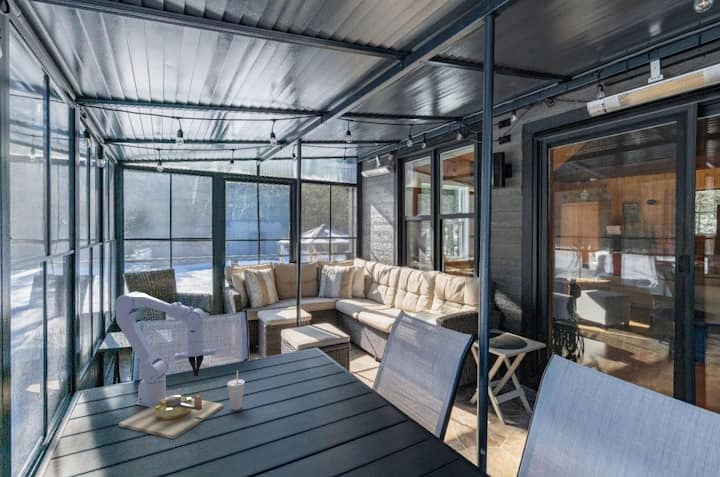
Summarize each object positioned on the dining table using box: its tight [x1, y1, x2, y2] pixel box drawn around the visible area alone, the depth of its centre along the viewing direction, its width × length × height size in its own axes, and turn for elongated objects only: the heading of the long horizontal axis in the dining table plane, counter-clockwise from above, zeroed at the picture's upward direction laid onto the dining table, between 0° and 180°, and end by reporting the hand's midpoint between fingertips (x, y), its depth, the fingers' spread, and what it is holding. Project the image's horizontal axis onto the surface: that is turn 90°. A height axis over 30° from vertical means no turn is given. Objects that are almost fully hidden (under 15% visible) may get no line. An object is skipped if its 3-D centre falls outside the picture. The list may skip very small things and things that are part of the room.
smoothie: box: [226, 370, 246, 411], centre depth 146 cm, size 6×6×14 cm
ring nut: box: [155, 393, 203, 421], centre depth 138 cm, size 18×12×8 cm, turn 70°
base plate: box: [118, 394, 224, 440], centre depth 139 cm, size 24×24×6 cm
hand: (196, 375), depth 151 cm, fingers closed
